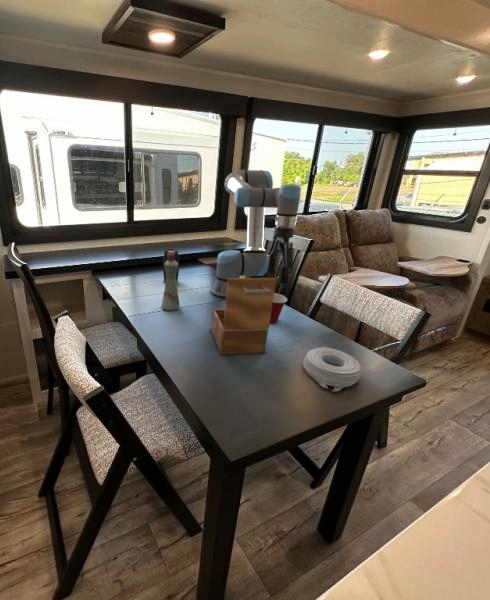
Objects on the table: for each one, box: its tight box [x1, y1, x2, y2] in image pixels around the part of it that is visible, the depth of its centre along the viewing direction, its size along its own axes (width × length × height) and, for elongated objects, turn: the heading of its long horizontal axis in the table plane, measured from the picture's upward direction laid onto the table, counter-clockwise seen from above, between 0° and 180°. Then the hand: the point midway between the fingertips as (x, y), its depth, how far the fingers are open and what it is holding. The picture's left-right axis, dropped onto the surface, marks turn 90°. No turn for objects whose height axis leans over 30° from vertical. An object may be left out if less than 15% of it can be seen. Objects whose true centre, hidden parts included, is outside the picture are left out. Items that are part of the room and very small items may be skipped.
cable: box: [302, 347, 362, 393], centre depth 104 cm, size 18×18×6 cm
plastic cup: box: [269, 292, 288, 324], centre depth 139 cm, size 11×11×12 cm
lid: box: [223, 277, 277, 331], centre depth 105 cm, size 19×17×8 cm
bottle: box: [161, 252, 180, 312], centre depth 147 cm, size 9×9×28 cm
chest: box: [210, 308, 269, 355], centre depth 122 cm, size 19×17×10 cm
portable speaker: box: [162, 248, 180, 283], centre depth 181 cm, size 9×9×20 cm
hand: (276, 277), depth 130 cm, fingers open, 13 cm apart
